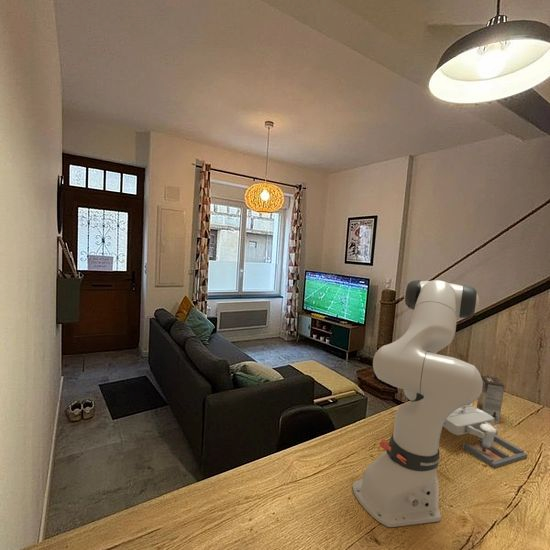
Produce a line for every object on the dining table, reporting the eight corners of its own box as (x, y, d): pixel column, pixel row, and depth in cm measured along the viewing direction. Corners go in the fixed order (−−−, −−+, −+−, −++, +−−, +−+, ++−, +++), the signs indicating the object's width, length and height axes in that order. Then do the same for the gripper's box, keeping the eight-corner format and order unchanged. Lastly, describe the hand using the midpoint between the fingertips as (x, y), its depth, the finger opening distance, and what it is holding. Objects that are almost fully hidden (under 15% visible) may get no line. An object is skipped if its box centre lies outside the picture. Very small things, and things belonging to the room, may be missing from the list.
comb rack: (493, 468, 98) (494, 462, 98) (463, 448, 108) (463, 443, 108) (526, 457, 105) (527, 452, 105) (495, 440, 115) (496, 435, 115)
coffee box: (475, 410, 138) (480, 374, 136) (492, 413, 136) (497, 377, 134) (481, 420, 129) (487, 382, 128) (500, 424, 127) (505, 385, 126)
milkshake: (498, 457, 103) (502, 428, 102) (480, 454, 104) (484, 425, 103) (491, 449, 107) (495, 421, 106) (474, 446, 108) (478, 418, 108)
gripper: (434, 408, 112) (471, 430, 100) (471, 402, 121) (510, 421, 108) (431, 425, 113) (468, 449, 100) (469, 417, 121) (508, 438, 108)
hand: (490, 434), depth 104 cm, fingers open, 5 cm apart
